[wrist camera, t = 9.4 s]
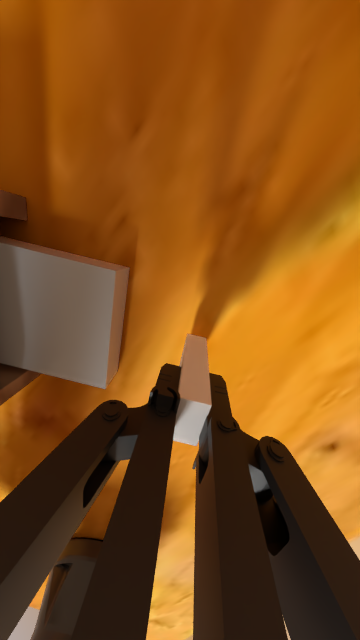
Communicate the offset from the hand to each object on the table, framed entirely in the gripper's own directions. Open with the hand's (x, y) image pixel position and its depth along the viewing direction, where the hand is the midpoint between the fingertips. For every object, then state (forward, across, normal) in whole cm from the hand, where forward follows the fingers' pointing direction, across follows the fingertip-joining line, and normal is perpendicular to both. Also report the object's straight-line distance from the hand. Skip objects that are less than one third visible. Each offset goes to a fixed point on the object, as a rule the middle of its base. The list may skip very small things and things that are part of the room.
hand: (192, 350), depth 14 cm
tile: (+2, +15, 0) cm, 15 cm away
